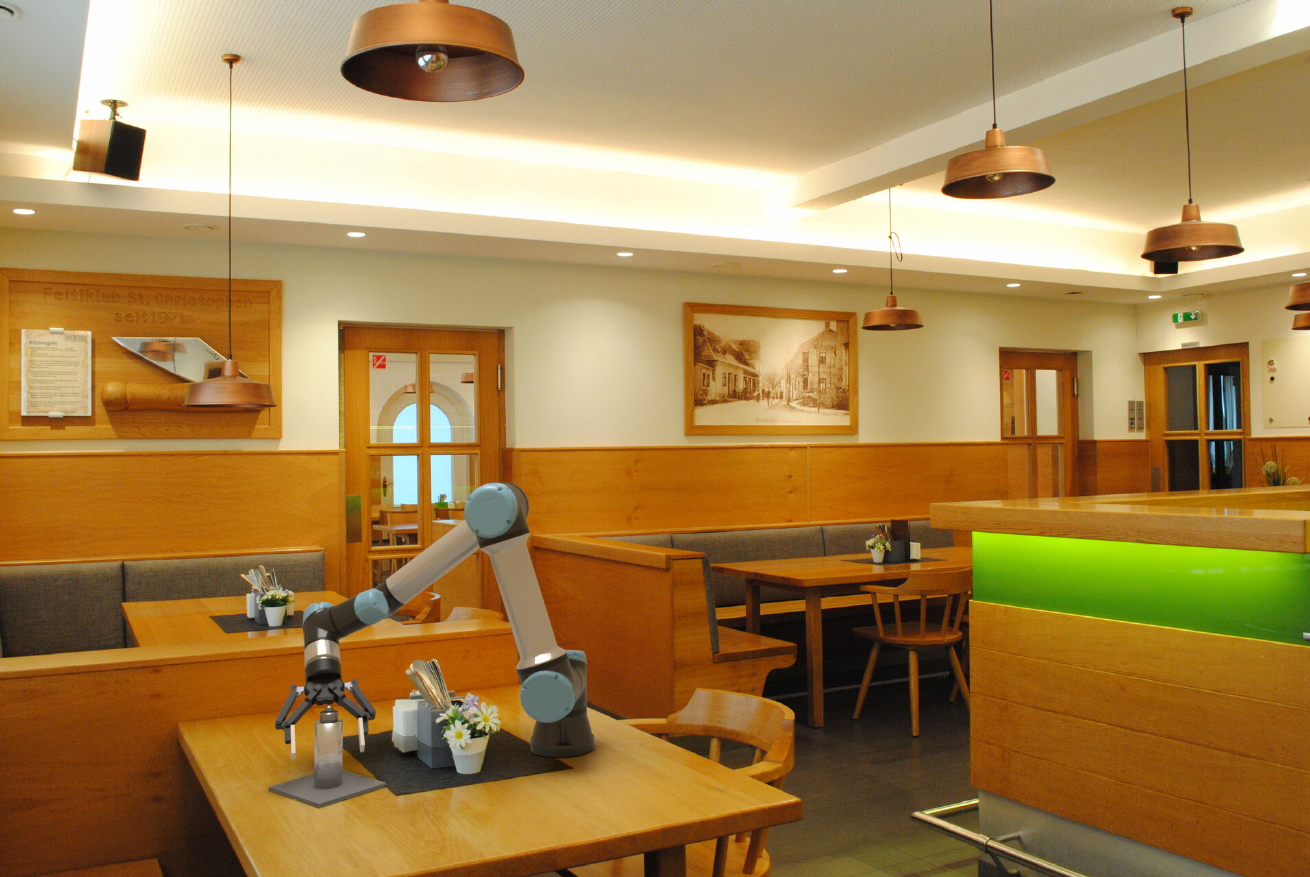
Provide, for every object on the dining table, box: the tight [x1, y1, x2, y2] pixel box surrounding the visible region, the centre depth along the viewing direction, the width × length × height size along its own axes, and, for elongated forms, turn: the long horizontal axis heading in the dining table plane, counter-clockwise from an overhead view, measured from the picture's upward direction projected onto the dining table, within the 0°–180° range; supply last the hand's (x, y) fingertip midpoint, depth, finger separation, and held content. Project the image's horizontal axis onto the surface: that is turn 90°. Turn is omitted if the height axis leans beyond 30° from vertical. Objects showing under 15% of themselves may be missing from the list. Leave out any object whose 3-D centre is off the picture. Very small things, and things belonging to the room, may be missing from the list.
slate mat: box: [268, 769, 387, 809], centre depth 209 cm, size 18×16×1 cm
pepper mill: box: [313, 704, 344, 789], centre depth 209 cm, size 6×6×16 cm
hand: (328, 752), depth 207 cm, fingers open, 13 cm apart
